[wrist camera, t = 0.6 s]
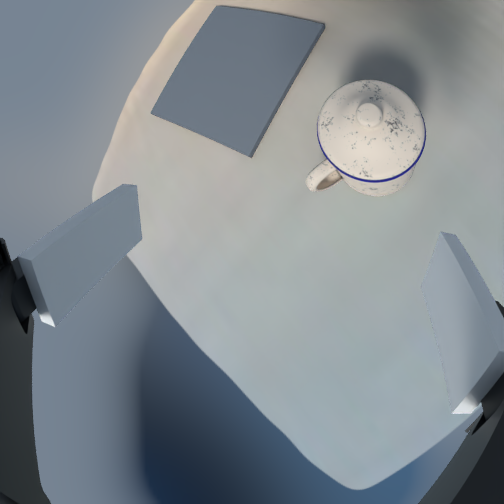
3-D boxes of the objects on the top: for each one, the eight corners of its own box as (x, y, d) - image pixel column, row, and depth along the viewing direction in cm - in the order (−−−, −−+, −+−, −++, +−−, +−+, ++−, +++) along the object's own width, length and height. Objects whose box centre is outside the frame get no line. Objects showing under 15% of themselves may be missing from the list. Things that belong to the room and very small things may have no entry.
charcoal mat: (218, 8, 39) (216, 5, 38) (325, 28, 32) (323, 24, 32) (153, 115, 43) (150, 113, 42) (251, 158, 37) (248, 156, 36)
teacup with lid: (381, 102, 30) (373, 43, 20) (434, 167, 28) (454, 128, 18) (296, 164, 34) (255, 127, 24) (344, 232, 33) (323, 223, 22)
